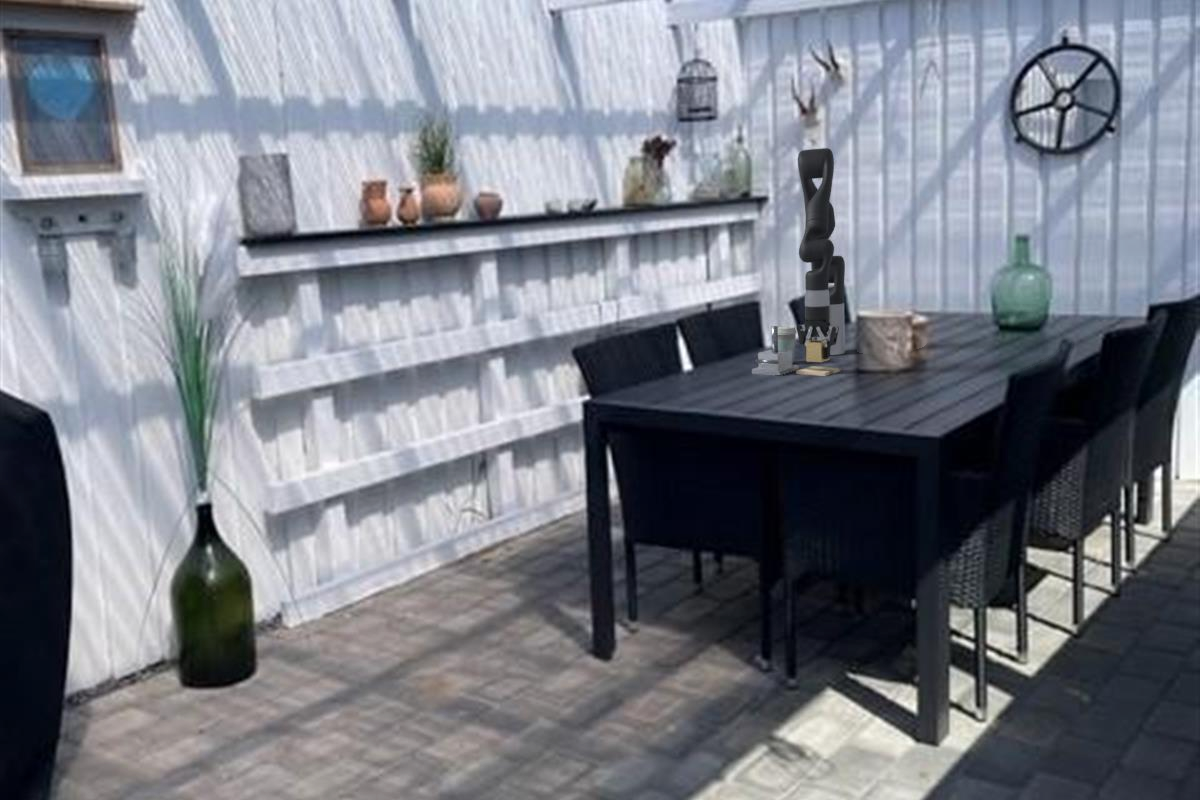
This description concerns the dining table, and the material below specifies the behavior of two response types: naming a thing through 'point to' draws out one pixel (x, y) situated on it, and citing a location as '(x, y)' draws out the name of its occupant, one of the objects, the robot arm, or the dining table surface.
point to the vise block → (774, 359)
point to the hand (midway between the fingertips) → (817, 358)
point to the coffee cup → (786, 338)
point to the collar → (815, 351)
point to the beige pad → (818, 371)
